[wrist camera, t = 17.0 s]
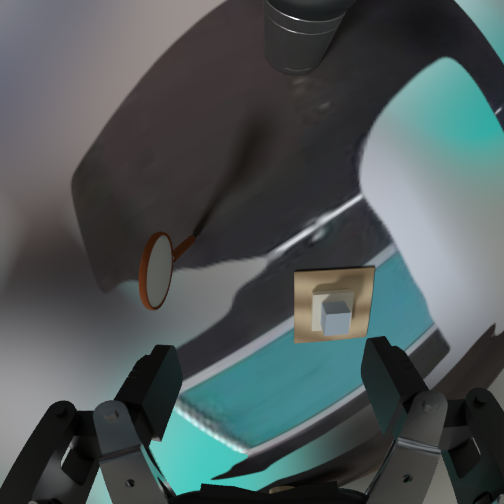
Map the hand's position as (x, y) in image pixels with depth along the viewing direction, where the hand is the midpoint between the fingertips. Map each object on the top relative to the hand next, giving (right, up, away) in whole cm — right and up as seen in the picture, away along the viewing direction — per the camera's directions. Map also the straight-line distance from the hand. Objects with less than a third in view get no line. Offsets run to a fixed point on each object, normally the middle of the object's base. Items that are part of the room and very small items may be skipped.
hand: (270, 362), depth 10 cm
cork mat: (+14, -5, +35) cm, 38 cm away
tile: (+9, -6, +34) cm, 36 cm away
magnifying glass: (-10, +7, +33) cm, 35 cm away
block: (+13, -6, +33) cm, 36 cm away
